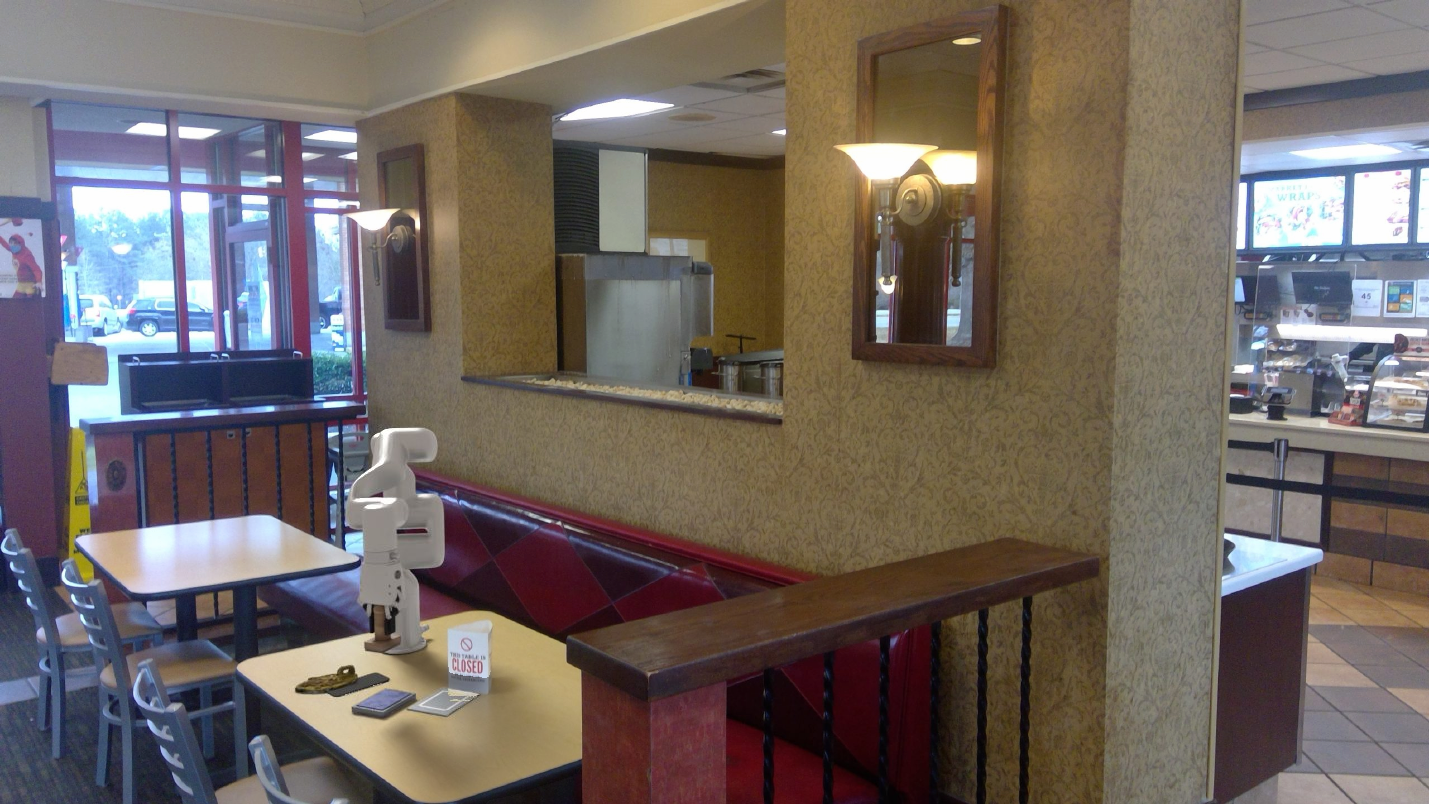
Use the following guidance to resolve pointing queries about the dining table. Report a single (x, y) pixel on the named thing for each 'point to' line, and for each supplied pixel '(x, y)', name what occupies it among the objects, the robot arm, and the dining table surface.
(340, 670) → the brass ornament
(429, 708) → the stamp card
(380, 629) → the stamp
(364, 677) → the phone
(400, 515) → the robot arm
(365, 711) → the ink pad
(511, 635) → the dining table surface
